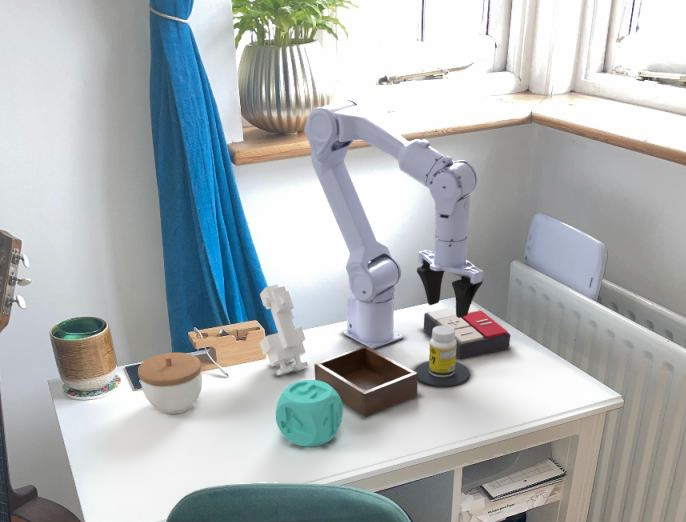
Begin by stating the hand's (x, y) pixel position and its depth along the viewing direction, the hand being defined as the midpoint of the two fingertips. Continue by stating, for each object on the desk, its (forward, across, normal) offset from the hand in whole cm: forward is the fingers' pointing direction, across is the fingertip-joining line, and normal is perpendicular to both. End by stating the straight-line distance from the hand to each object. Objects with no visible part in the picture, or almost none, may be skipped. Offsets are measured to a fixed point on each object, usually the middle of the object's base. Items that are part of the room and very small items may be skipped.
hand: (447, 309), depth 147 cm
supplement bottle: (+9, +5, -6) cm, 12 cm away
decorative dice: (+10, +7, -36) cm, 38 cm away
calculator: (+10, -3, +8) cm, 13 cm away
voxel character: (+10, -16, -26) cm, 32 cm away
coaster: (+9, +5, -6) cm, 12 cm away
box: (+9, +1, -20) cm, 22 cm away
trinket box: (+10, -16, -49) cm, 52 cm away
